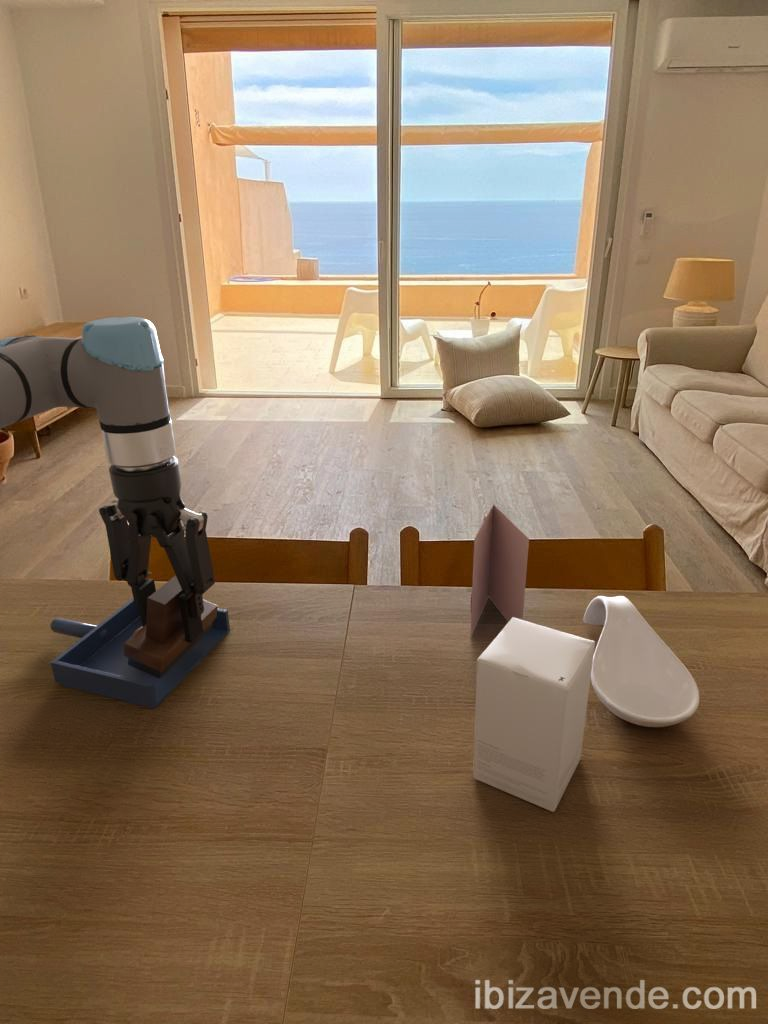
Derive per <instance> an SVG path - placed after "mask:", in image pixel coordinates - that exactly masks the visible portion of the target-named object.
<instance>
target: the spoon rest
mask: <svg viewBox="0 0 768 1024" xmlns="http://www.w3.org/2000/svg"><path fill="white" fill-rule="evenodd" d="M582 621H583V623H584V624H585V625H589V626H603V628H602V631H601V634H600V636H599V639H598V641H597V644H596V647H595V648H594V655H593V662H592V670H591V678H590V682H591V684H592V689H593V690H594V693H595V695H596V696H597V698H598V700H599V701H600V702H601V703H602V705H603V706H604V707H605V708H606V709H607V710H608V711H610V712H611V713H612V714H613V715H615V716H617V717H618V718H619V719H622V720H623V721H626V722H628V723H631V724H634V725H637V726H640V727H641V726H642V727H647V728H665V727H669V726H673V725H677V724H680V723H682V722H684V721H686V720H688V719H689V718H690V717H692V716H693V715H694V714H695V713H696V712H697V710H698V708H699V705H700V691H699V688H698V685H697V682H696V680H695V679H694V676H692V675H693V674H691V671H689V670H688V668H687V667H686V665H684V663H683V662H682V661H681V660H680V658H679V657H678V656H677V655H676V654H675V652H674V651H673V650H672V649H671V648H670V647H669V646H668V644H666V643H665V642H664V640H663V639H662V638H661V637H660V635H658V633H657V632H656V631H655V630H654V629H653V628H652V627H651V625H650V624H649V623H648V622H647V621H646V619H645V618H644V616H642V614H641V613H640V612H639V610H638V609H637V607H635V605H634V603H632V601H631V600H630V599H628V597H626V596H624V595H617V596H605V595H598V596H595V597H594V598H593V599H592V600H591V601H590V603H589V604H588V605H587V608H586V610H585V613H584V615H583V619H582Z"/></svg>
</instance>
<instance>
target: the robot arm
mask: <svg viewBox="0 0 768 1024" xmlns="http://www.w3.org/2000/svg"><path fill="white" fill-rule="evenodd" d="M160 347H161V346H160V343H159V338H158V333H157V329H156V327H155V325H154V324H153V322H151V321H150V320H149V319H147V318H144V317H136V316H124V317H107V318H100V319H94V320H90V321H88V322H86V323H84V324H83V325H82V327H81V338H80V337H79V338H78V337H77V338H76V337H56V336H55V337H54V336H53V337H52V336H51V337H49V336H37V335H34V334H30V335H29V334H25V335H23V336H10V337H4V338H2V339H0V430H1V429H3V428H7V427H8V426H12V425H13V424H16V423H20V422H22V421H25V420H27V419H30V418H33V417H35V416H37V415H40V414H42V413H46V412H48V411H50V410H53V409H55V408H56V409H57V408H80V409H81V408H82V409H96V413H97V418H98V422H99V426H100V431H101V436H102V443H103V447H104V452H105V458H106V462H107V463H109V464H110V466H109V468H108V472H109V477H110V482H111V487H112V491H113V495H114V496H115V498H116V499H114V500H112V501H110V502H109V503H106V504H105V505H103V506H101V507H100V508H99V509H98V514H99V515H100V517H101V519H102V521H103V523H104V526H105V530H106V531H105V532H106V536H107V541H108V542H107V543H108V546H109V553H110V559H111V565H112V570H113V577H114V578H115V580H117V581H122V580H123V581H125V582H126V583H127V585H128V586H129V587H130V588H131V593H132V599H134V603H135V605H136V607H139V610H140V615H141V620H142V625H143V627H144V626H145V625H146V621H147V598H148V597H149V596H150V595H152V594H153V593H154V592H155V591H157V588H156V583H155V579H154V578H148V577H149V576H151V575H152V572H150V571H149V567H150V566H149V565H150V555H151V543H152V537H154V538H155V539H156V540H157V543H158V545H159V547H160V548H163V549H164V551H165V553H166V556H167V558H168V560H169V563H170V566H171V568H172V570H173V572H174V574H175V575H176V577H177V579H178V581H179V584H180V586H181V588H182V591H183V593H182V594H181V595H180V596H178V598H179V604H180V610H181V616H182V621H183V627H184V633H185V639H186V642H189V643H192V642H193V641H194V640H195V639H196V638H197V637H198V636H199V635H200V634H201V633H202V632H203V626H202V620H201V614H202V613H203V612H204V604H203V600H204V598H203V595H204V594H205V593H206V592H207V591H208V590H209V589H210V588H212V586H214V585H215V584H216V578H215V573H214V568H213V563H212V556H211V551H210V545H209V541H208V540H209V539H208V535H207V531H206V530H207V525H208V523H207V522H208V518H209V517H208V513H206V511H205V510H201V511H199V512H194V511H192V510H190V509H188V508H186V505H185V503H184V501H183V500H182V497H181V489H182V478H181V471H180V465H179V459H178V458H177V457H176V456H175V455H176V453H177V448H176V441H175V436H174V429H173V423H172V419H171V411H170V407H169V399H168V394H167V387H166V386H167V385H166V378H165V377H166V376H165V370H164V369H165V367H164V364H165V361H164V356H163V354H162V352H161V348H160ZM181 521H182V522H181Z"/></svg>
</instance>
